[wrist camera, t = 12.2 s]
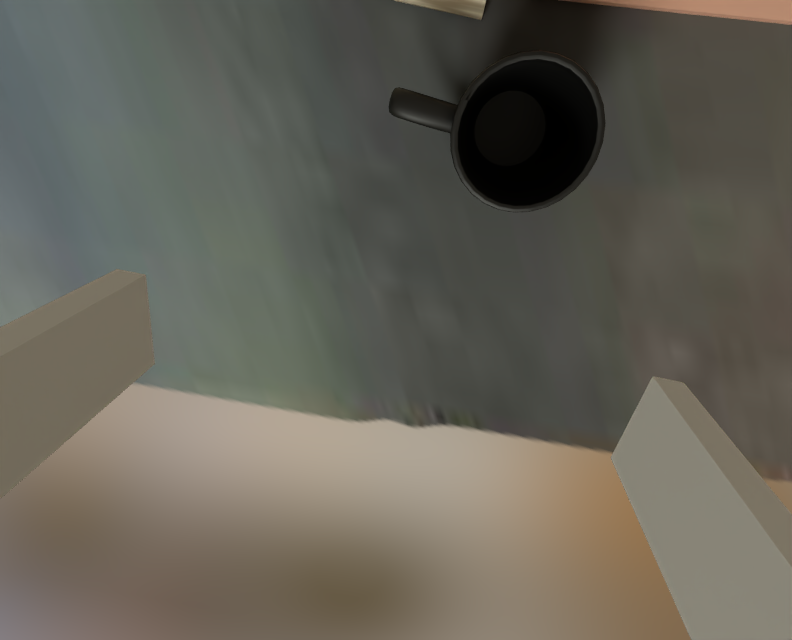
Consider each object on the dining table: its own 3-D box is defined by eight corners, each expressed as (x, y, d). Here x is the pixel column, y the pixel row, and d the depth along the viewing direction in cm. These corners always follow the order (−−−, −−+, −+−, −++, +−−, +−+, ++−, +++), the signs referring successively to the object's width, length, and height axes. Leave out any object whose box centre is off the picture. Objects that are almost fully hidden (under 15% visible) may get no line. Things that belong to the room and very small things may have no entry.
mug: (423, 33, 31) (408, 5, 22) (588, 85, 31) (636, 77, 22) (392, 154, 34) (369, 169, 26) (539, 200, 34) (564, 231, 26)
